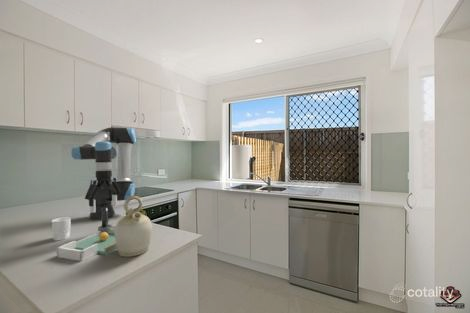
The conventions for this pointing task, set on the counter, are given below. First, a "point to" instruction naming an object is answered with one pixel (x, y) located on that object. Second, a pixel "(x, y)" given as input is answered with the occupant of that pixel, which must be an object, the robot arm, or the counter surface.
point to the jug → (133, 231)
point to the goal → (76, 251)
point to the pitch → (103, 246)
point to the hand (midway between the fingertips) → (104, 209)
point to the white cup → (61, 228)
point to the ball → (103, 236)
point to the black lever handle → (105, 222)
